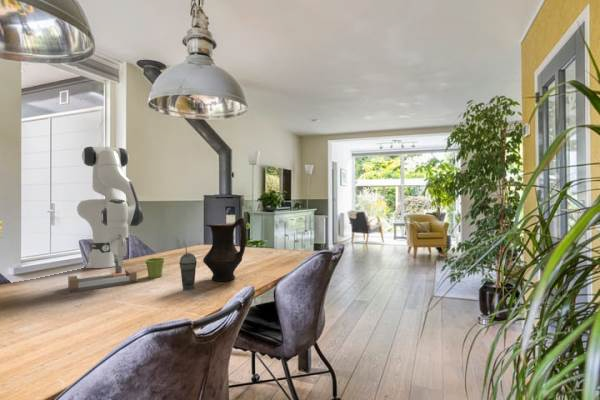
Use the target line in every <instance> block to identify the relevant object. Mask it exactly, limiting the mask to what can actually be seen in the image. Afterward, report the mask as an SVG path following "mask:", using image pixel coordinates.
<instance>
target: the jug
mask: <svg viewBox="0 0 600 400" xmlns="http://www.w3.org/2000/svg"><path fill="white" fill-rule="evenodd" d="M205 226H206V227H209V228H210V230H211V235H212V236H211V237H212V239H211V240H212V245H211V248H210V249H209V251H208V252H207V253H206V255H205V256H204V257H203V259H202V262H203V263H204V265H206V266H207V268H208V269H209V270H210V271H211V273H212V276H211V280H212V281H217V282H219V281H220V282H226V281H232V280H235V278H236V276H235V274H234V272H235V271H236V269H237V267H238V266H239V265H240V263H241V262H242V261H243V256H244V254H245V251H246V243H247V225H246V221H245V218H244V217H243V216H242V217H241V216H240V217H238V219H236V220H235V221H234V222H233V223H219V224H205ZM238 226H240V241H239V243H240V244H239V251H238V250H237V247H236V246H235V241H234V240H235V239H234V238H235V237H234V236H235V228H237V227H238Z"/></svg>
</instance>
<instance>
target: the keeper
mask: <svg viewBox="0 0 600 400" xmlns="http://www.w3.org/2000/svg"><path fill="white" fill-rule="evenodd" d="M114 263H115V266H114V267H115V268H114V269H115V271H113V272H112V271H111V273H110V274H111V278H115V277H123V276H126V273H125V270H122V268H123V267H122V266H123V265H121V266H119V265H118V260H115V261H114Z"/></svg>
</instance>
